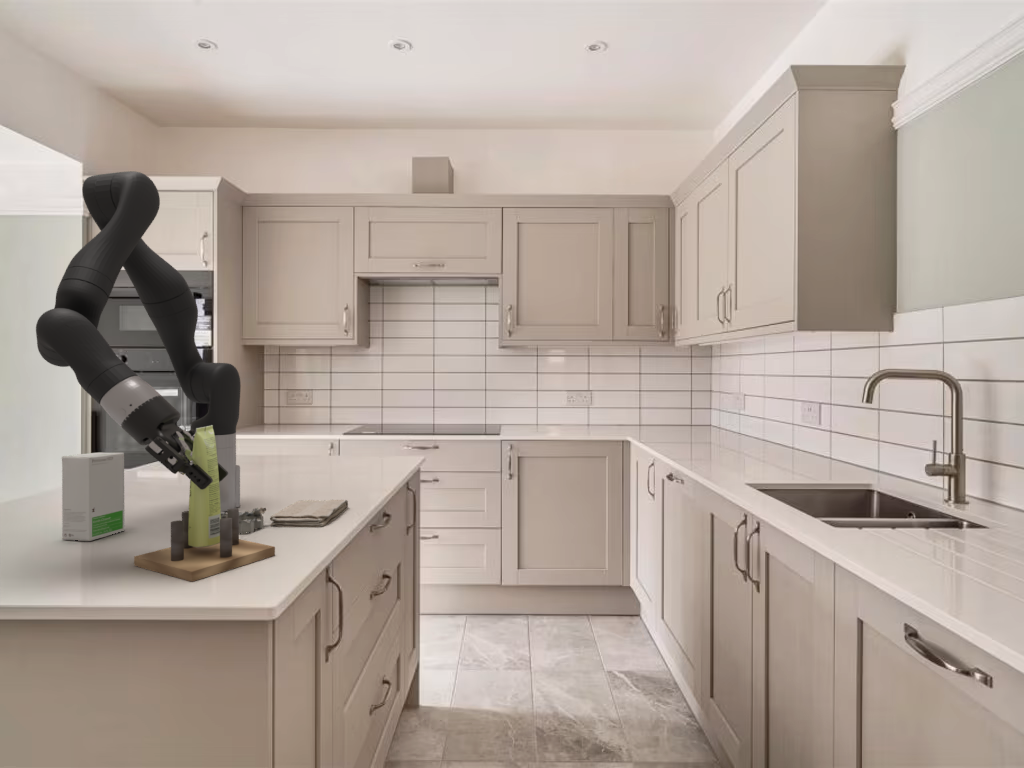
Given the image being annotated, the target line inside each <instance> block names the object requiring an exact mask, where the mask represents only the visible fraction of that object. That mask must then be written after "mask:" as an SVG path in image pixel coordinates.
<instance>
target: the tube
mask: <svg viewBox="0 0 1024 768" xmlns="http://www.w3.org/2000/svg"><path fill="white" fill-rule="evenodd" d="M192 459H193V460H194V461H195V465H196V464H197V465H198V466H200V467H201V468H202V469H203V470H204V471H205V472H206V473H207V474H208V475H209V476H210V477H211V478H212V479H213V482H212V483H211V484H210V485H209V486H208V487H207V488H205V489H203V490H202V489H200V488H199V487H198V486H197V485H196V484H194V483H193V482H192V481H191V480H190V479H189V499H188V511H189V527H188V545H189V546H192V547H196V548H197V547H207V546H212V545H216V544H218V543H220V519H221V507H220V487H219V472H218V460H217V450H216V441H215V435H214V430H213V425H211V426H207V427H202V428H196V433H195V437H194V443H193V452H192ZM195 465H194V466H195Z"/></svg>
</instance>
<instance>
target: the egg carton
mask: <svg viewBox="0 0 1024 768" xmlns="http://www.w3.org/2000/svg"><path fill="white" fill-rule="evenodd" d="M265 512H267V508H266V507H259V508H258V507H257V508H253V509H252V510H251V511H250V510H245V511H244V512H240V511H239V533H241V534H240V535H243V534H242V533H244V534H247V533H246V532H252V533H254V532H255V530H256V529H255V528H260V529H263V528H265V527H264V524H265V523H264V516H263V515H264V514H265ZM222 518H227V511H225V512H221V519H222ZM262 527H263V528H262ZM253 531H254V532H253Z"/></svg>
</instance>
